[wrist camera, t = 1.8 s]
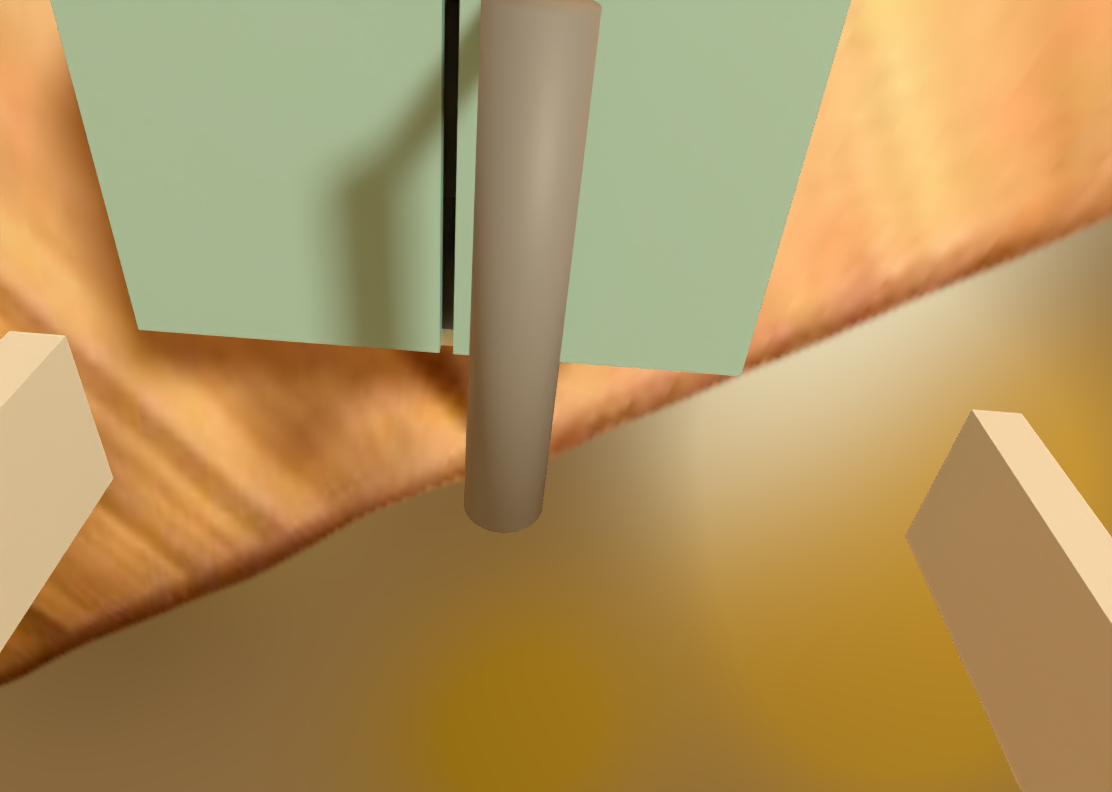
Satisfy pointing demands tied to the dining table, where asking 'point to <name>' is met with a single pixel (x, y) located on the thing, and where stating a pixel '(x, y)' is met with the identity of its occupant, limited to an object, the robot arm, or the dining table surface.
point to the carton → (449, 164)
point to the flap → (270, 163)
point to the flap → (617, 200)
